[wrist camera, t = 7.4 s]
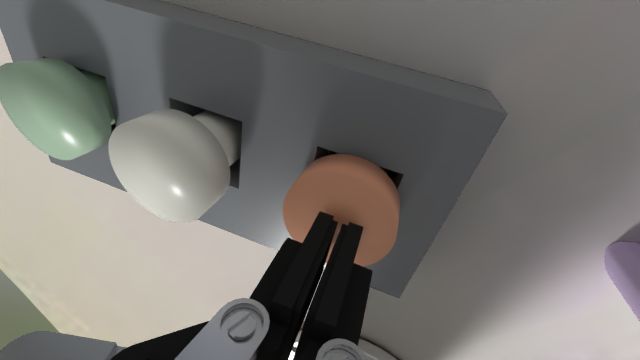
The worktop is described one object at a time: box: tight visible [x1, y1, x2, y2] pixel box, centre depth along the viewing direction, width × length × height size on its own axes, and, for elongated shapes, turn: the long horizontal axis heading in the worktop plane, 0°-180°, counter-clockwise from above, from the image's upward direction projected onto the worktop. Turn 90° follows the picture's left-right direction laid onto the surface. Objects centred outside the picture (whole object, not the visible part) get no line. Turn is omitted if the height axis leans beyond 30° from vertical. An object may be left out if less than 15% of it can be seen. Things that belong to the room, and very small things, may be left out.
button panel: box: [0, 0, 507, 298], centre depth 15 cm, size 22×10×3 cm, turn 79°
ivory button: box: [108, 109, 242, 223], centre depth 13 cm, size 4×4×4 cm
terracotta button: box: [282, 153, 400, 267], centre depth 13 cm, size 4×4×4 cm
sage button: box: [0, 57, 115, 160], centre depth 15 cm, size 4×4×4 cm
